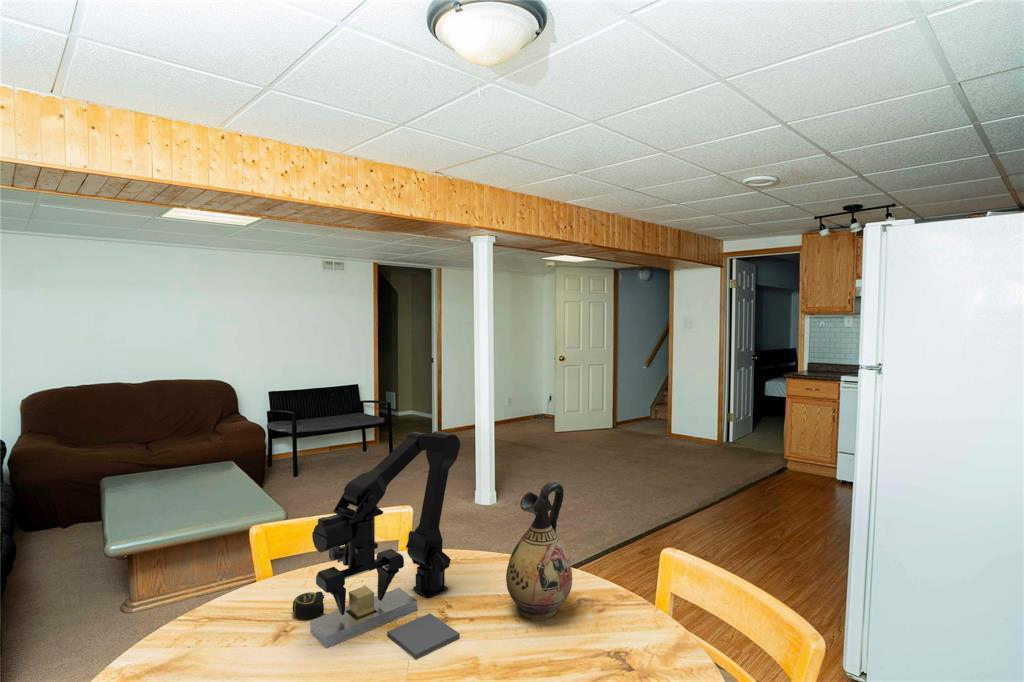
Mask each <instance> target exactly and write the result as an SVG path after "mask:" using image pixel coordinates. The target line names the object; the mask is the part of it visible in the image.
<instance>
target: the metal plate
mask: <svg viewBox="0 0 1024 682" xmlns="http://www.w3.org/2000/svg"><path fill="white" fill-rule="evenodd" d="M414 612H418V599H416V598H415V597H413V596H412V595H410V594H409V593H408V592H406V591H405V590H403V589H402V588H400V587H397V588H394V589H392V590H389V591H386V593H385V595H384V597H383V599H382V600H381V601H380V600H378V595H374V614H371V615H369V616H366V617H364V618H361V619H359V620H355V619H354V618H353V617H352V616H350V615H349V605H348V606H347V607H346V606H345V613H344V615H341V614H340V611H339V609H337V610H335V611H333V612H330V613H327V614H325V615H324V614H323V615H322V616H321V615H320V617H319V616H318V617H316V618H314V619H310V620H309V623H310V624H309V627H310V628H309V632H310V634H312V636H313V637H314V638H315V639H316V640H318V641H319V643H320V644H321V645H323V646H324V648H326V649H327V648H330V647H333V646H335V645H337V644H340V643H342V642H344V641H347V640H350V639H353V638H355V637H358V636H359V635H362V634H364V633H366V632H367V633H368V632H369V631H371V630H374V629H376V628H378V627H381V626H384V625H386V624H388V623H391V622H392V621H393V622H394V621H395V620H398V619H400V618H402V617H405V616H407V615H410V614H412V613H414Z"/></svg>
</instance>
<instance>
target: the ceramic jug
mask: <svg viewBox="0 0 1024 682" xmlns="http://www.w3.org/2000/svg"><path fill="white" fill-rule="evenodd" d="M553 492H554V498H553V502H552V503H551V501H550V500H549V495H551V494H552V493H553ZM564 494H565V493H564V486H563V485H562V484H560V483H559V482H556V481H553V482H548V483H546V484H545V485H543V487H542V488H541V490H540V493H539V495H536V494H535V493H533V492H532V491H527V493H525V494H524V495H523V496H522V497H521V500H520V503H519V506H520V509H521V511H523V512H526V513H530V514H533V515H534V516H535V517H534V520H533V521H532V523H531V525H530V526H529V528H527V530H526V531H525V533H523V535H522V537H521V538H520V539H519V541H518V543H517V544H516V545H515V547H514V548H513V550H512V552H511V554H510V558H509V561H508V565H507V568H506V575H505V583H506V587H507V588H506V589H507V592H508V594H509V596H510V598H511V599H512V600H513V602H514V603H515V605H516V606H517V612H518V611H519V612H518V613H519V615H520V614H521V615H520V616H521V617H524V618H527V619H529V618H530V620H533V619H539V620H538V621H541V619H544V620H546V619H550V618H552V617H553V615H556V614H557V612H558V609H559V607H560V606H561V605H562V604H563V603H564V602H565V601H566V600H567V599H568V596H569V595H570V593H571V590H572V588H573V587H572V586H573V571H572V564H571V561H570V560H571V559H570V558H569V553H568V552H567V550H566V548H565V546H564V544H563V542H562V541H561V540H560V537H559V536H558V534H557V526H558V525H557V524H558V523H557V522H558V519H559V514H560V511H561V507H562V505H563V501H564V497H565V496H564ZM549 511H550V512H549Z"/></svg>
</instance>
